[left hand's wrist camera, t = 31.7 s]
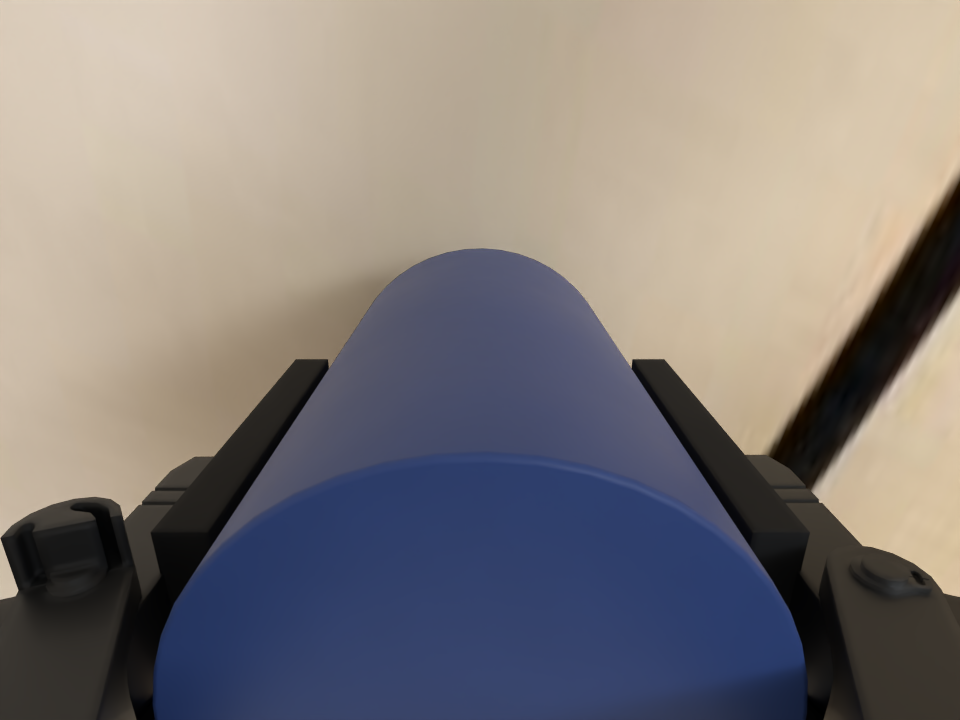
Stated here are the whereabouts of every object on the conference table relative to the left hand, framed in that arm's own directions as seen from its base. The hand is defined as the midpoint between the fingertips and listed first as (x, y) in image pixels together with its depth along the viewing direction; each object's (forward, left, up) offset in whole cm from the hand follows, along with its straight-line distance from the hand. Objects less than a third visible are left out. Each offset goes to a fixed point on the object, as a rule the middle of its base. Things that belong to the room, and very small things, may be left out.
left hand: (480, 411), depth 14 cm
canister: (0, 0, -2) cm, 2 cm away
